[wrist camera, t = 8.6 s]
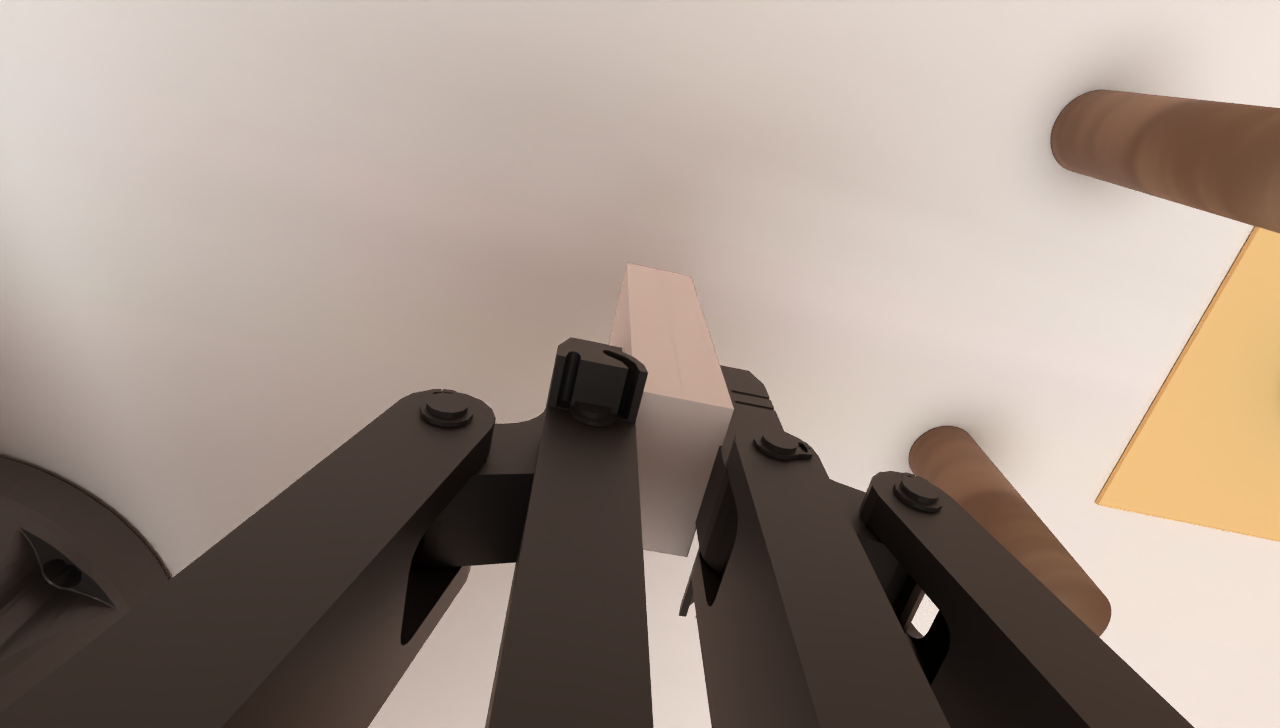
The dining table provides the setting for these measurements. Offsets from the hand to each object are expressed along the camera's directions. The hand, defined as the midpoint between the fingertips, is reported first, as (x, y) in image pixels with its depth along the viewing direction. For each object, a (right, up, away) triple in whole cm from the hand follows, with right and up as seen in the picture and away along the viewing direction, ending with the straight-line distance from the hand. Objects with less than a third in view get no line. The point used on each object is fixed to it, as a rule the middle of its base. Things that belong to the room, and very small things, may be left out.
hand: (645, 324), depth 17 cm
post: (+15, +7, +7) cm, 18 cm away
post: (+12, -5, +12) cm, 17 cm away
